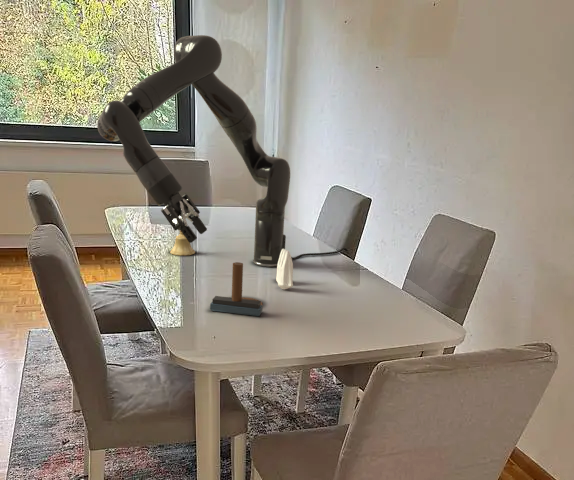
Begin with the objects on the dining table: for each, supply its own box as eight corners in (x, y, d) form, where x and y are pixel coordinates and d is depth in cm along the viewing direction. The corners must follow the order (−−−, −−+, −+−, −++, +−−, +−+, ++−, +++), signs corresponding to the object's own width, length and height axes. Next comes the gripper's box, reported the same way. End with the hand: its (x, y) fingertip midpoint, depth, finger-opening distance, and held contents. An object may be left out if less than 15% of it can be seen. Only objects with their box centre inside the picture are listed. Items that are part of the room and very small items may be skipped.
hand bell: (166, 254, 210) (165, 205, 203) (174, 248, 218) (174, 201, 211) (190, 256, 209) (190, 207, 202) (198, 251, 217) (198, 203, 210)
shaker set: (292, 292, 181) (295, 254, 177) (278, 291, 181) (280, 253, 176) (289, 280, 192) (291, 244, 187) (275, 279, 192) (277, 243, 187)
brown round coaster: (250, 296, 176) (250, 295, 176) (269, 307, 169) (269, 306, 169) (218, 300, 171) (218, 300, 171) (237, 312, 163) (237, 311, 163)
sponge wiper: (213, 306, 165) (214, 259, 160) (262, 312, 164) (264, 264, 158) (210, 311, 162) (210, 262, 157) (259, 317, 161) (262, 268, 155)
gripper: (159, 177, 147) (201, 235, 152) (179, 167, 160) (218, 221, 164) (136, 195, 150) (179, 252, 155) (158, 184, 163) (196, 237, 167)
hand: (199, 236), depth 160 cm, fingers open, 8 cm apart
